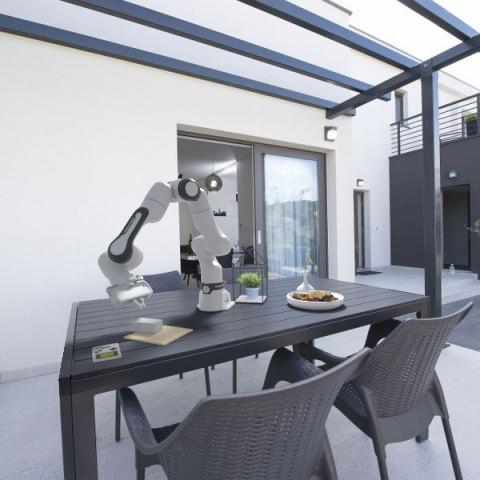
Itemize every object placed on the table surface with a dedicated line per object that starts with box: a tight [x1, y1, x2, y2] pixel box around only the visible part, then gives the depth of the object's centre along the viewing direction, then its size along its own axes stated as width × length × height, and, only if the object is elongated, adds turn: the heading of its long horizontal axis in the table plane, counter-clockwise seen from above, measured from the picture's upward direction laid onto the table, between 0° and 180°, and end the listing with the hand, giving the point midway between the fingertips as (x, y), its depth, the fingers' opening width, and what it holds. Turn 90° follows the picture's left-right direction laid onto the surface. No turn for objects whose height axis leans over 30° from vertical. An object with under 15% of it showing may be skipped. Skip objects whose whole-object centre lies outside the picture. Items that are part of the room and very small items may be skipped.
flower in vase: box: [296, 253, 315, 291], centre depth 203 cm, size 13×11×25 cm
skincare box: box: [129, 317, 164, 334], centre depth 130 cm, size 6×4×12 cm
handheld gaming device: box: [91, 342, 123, 364], centre depth 109 cm, size 9×1×15 cm
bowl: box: [286, 289, 345, 311], centre depth 171 cm, size 30×30×8 cm
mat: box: [123, 324, 194, 347], centre depth 126 cm, size 18×20×1 cm
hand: (142, 308), depth 130 cm, fingers closed
